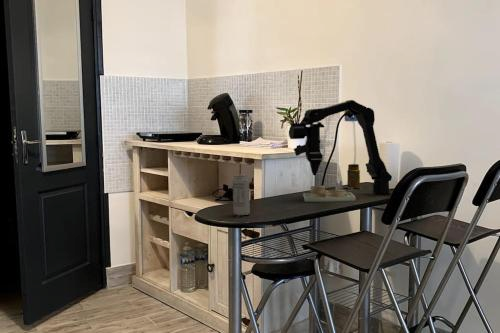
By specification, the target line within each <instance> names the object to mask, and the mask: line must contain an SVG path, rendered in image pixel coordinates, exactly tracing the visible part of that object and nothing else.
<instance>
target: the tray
mask: <svg viewBox="0 0 500 333" xmlns="http://www.w3.org/2000/svg"><path fill="white" fill-rule="evenodd" d="M346 192H347V197H313V198H311V192H307V193H306V192H303V197H304V198H303V201H304V203H323V202H324V203H325V202H326V203H327V202H356V196H355V195H354V194H353V193H352V192H351V191H349V192H348V191H346Z"/></svg>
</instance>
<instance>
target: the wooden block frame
mask: <svg viewBox="0 0 500 333" xmlns="http://www.w3.org/2000/svg"><path fill="white" fill-rule="evenodd" d="M325 186H326V185H310V193H311V198H313V197H347V192H348V191H346V189H342V190H336V189H335V190H326V187H325Z"/></svg>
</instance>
